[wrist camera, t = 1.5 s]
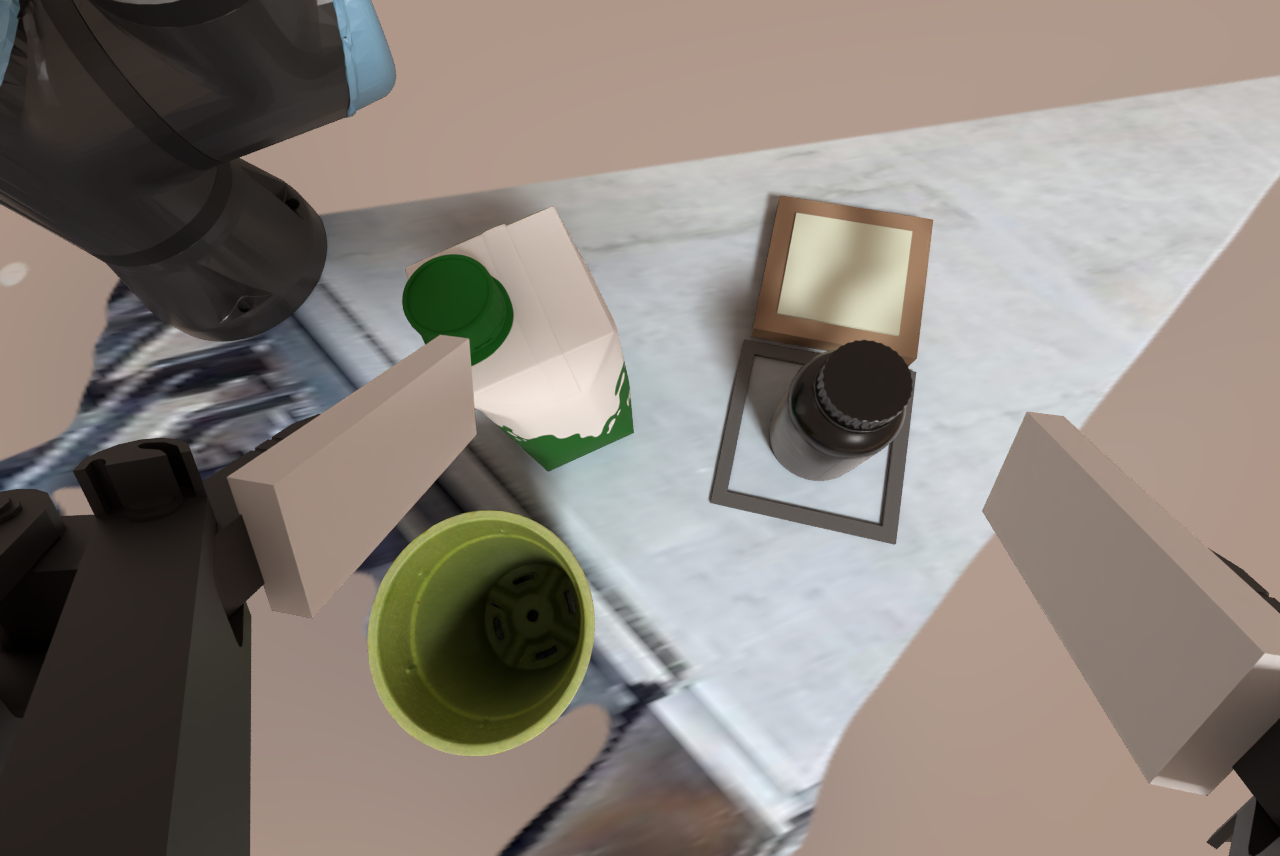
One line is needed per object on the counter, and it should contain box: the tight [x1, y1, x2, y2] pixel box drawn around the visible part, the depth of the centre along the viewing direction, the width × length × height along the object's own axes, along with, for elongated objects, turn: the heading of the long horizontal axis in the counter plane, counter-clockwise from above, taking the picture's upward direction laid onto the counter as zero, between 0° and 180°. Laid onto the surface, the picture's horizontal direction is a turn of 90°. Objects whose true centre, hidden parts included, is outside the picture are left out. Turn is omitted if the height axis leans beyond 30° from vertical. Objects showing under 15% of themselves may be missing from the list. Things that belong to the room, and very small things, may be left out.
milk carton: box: [402, 206, 634, 471], centre depth 34 cm, size 9×9×20 cm
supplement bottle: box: [769, 340, 913, 481], centre depth 36 cm, size 7×7×12 cm
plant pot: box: [368, 510, 595, 756], centre depth 34 cm, size 12×12×11 cm
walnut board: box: [751, 196, 933, 366], centre depth 44 cm, size 12×12×2 cm
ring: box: [711, 340, 916, 544], centre depth 41 cm, size 13×13×1 cm
